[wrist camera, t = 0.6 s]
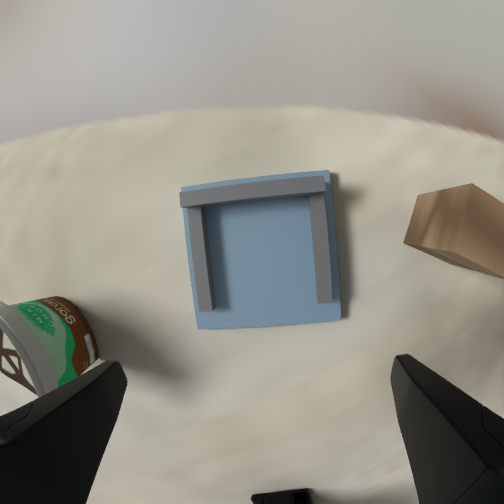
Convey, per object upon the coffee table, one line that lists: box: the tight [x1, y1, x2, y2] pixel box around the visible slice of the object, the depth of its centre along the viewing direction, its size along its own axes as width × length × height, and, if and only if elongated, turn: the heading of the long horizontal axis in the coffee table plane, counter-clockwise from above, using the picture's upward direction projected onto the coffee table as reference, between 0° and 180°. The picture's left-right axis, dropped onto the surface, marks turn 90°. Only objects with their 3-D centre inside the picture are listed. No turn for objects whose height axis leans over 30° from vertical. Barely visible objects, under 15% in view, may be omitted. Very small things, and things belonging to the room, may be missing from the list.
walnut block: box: [403, 183, 504, 279], centre depth 17 cm, size 4×5×8 cm
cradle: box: [179, 170, 341, 329], centre depth 21 cm, size 11×11×3 cm
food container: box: [0, 296, 98, 398], centre depth 21 cm, size 12×6×10 cm, turn 77°
